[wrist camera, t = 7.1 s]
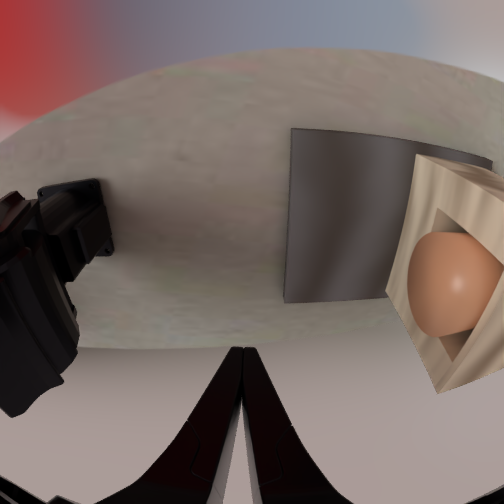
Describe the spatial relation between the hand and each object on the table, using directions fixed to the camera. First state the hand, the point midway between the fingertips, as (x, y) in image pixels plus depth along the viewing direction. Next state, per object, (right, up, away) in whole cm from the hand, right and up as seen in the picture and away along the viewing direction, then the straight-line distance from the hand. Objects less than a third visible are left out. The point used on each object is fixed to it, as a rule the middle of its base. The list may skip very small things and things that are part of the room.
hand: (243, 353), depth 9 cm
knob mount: (+12, +6, +11) cm, 17 cm away
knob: (+14, +3, +7) cm, 16 cm away
